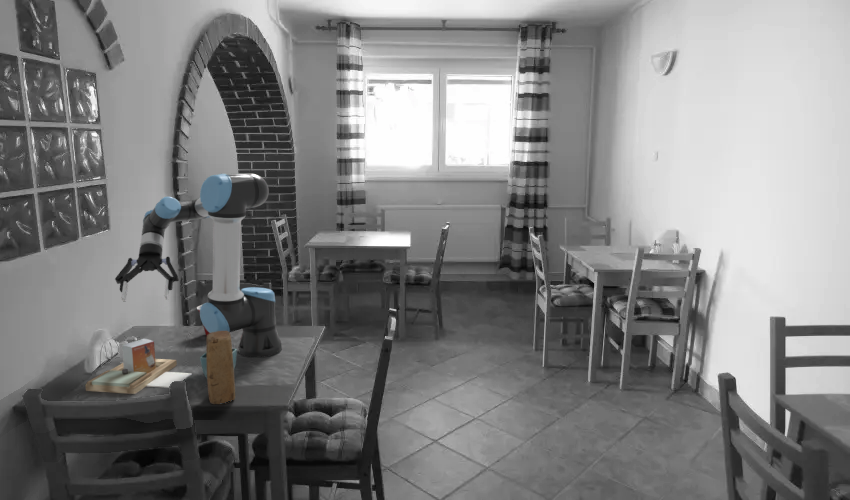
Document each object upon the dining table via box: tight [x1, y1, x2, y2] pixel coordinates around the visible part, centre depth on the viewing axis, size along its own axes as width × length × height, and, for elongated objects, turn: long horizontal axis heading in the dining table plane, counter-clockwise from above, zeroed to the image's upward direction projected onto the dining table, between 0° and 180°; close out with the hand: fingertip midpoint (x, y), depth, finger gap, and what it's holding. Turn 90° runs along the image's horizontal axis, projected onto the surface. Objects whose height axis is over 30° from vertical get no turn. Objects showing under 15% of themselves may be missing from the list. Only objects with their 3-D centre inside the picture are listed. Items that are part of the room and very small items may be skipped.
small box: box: [121, 338, 157, 373], centre depth 189 cm, size 8×6×10 cm
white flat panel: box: [145, 371, 193, 389], centre depth 184 cm, size 9×11×1 cm
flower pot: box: [199, 348, 238, 379], centre depth 184 cm, size 9×9×9 cm
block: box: [205, 331, 236, 405], centre depth 170 cm, size 11×8×20 cm
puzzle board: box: [85, 358, 178, 395], centre depth 186 cm, size 16×23×4 cm
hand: (145, 298), depth 200 cm, fingers open, 13 cm apart
